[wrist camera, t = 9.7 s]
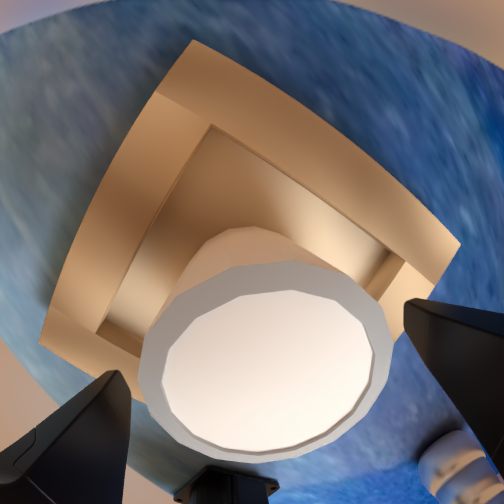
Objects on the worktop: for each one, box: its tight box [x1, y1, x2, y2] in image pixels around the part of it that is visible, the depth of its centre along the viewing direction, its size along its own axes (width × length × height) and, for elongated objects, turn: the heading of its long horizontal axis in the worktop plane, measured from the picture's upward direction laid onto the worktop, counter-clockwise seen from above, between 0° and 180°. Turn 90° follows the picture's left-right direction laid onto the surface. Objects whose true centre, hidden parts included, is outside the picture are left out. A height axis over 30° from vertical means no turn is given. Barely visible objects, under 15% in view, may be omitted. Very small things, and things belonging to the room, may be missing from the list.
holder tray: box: [38, 39, 461, 404], centre depth 14 cm, size 15×15×2 cm
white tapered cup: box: [137, 226, 393, 464], centre depth 11 cm, size 7×7×7 cm
